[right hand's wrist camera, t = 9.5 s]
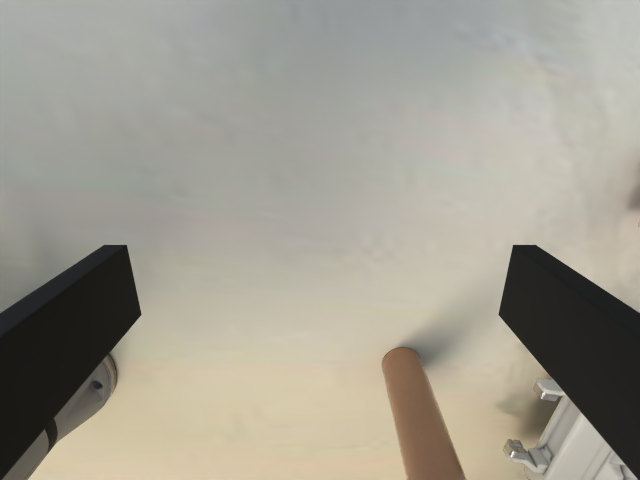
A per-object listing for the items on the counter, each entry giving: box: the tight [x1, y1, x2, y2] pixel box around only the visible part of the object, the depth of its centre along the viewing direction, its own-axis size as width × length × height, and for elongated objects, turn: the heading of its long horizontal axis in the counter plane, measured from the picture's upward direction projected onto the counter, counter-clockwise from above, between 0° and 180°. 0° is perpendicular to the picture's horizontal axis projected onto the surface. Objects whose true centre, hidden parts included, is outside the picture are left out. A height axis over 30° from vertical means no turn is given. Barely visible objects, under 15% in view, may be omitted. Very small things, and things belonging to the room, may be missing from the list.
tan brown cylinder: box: [382, 348, 467, 480], centre depth 37 cm, size 5×5×19 cm
